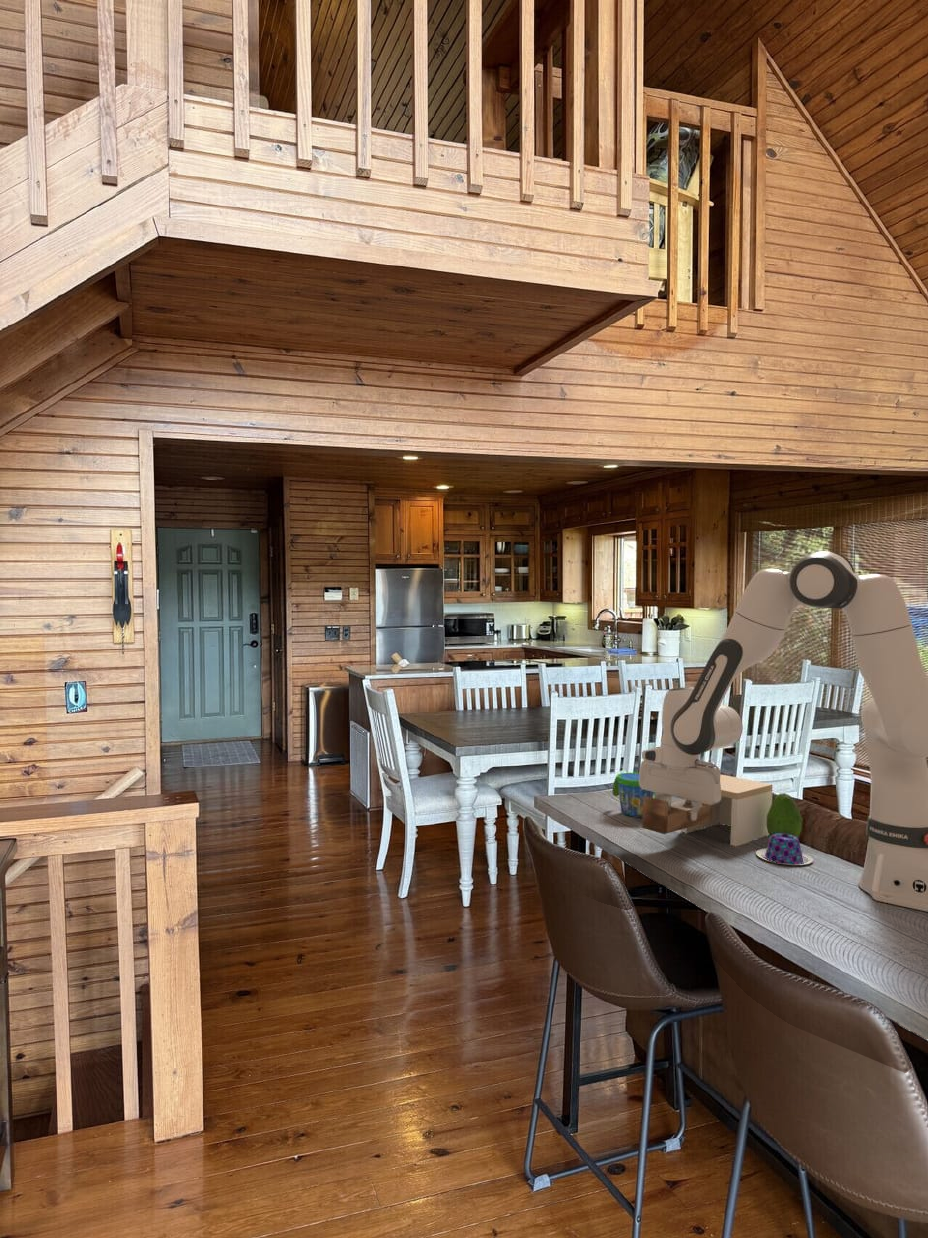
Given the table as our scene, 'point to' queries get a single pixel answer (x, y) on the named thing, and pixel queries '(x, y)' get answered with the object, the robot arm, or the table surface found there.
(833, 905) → the table surface
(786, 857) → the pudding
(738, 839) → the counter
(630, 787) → the snack cup
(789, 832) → the avocado
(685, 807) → the tray
